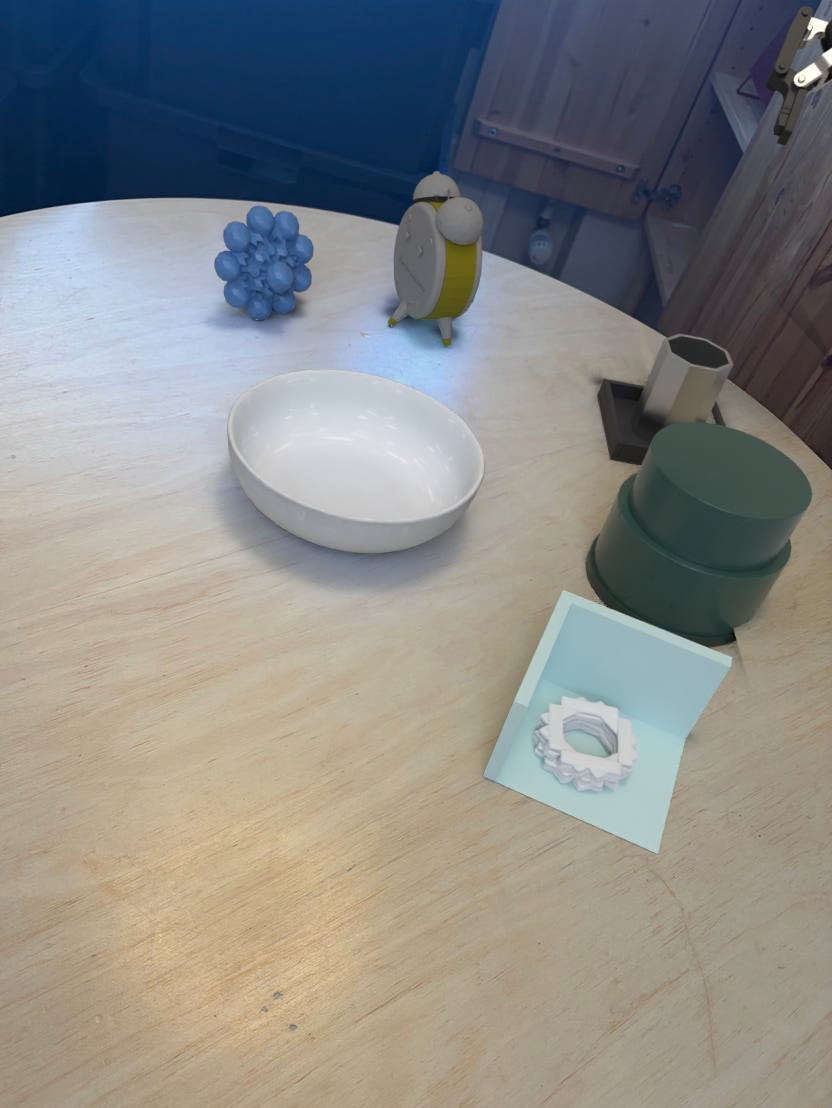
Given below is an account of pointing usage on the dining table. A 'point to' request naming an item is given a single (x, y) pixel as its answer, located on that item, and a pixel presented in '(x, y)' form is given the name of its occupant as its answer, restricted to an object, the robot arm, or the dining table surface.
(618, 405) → the tray
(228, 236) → the blue knobbed cluster
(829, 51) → the robot arm
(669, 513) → the green stepped cylinder
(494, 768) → the l-shaped corner panel
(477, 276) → the alarm clock
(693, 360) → the cup
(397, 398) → the serving bowl
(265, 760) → the dining table surface
